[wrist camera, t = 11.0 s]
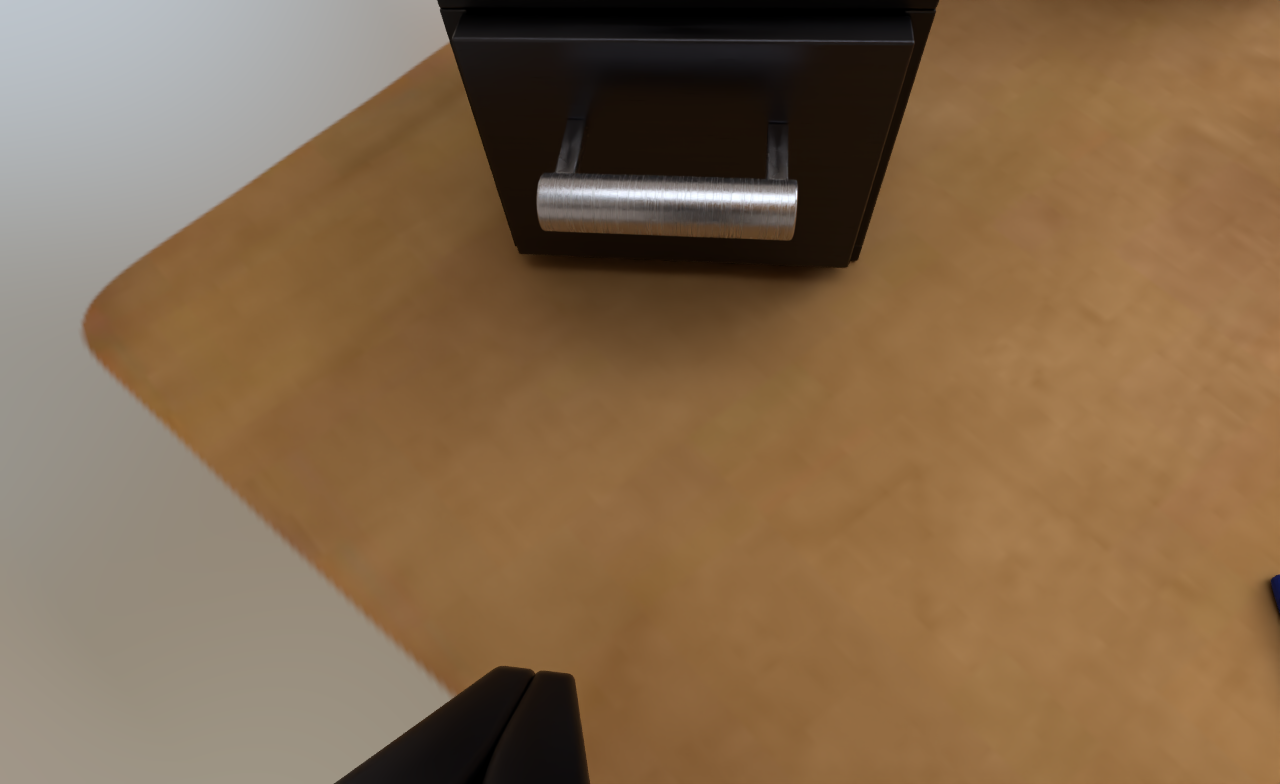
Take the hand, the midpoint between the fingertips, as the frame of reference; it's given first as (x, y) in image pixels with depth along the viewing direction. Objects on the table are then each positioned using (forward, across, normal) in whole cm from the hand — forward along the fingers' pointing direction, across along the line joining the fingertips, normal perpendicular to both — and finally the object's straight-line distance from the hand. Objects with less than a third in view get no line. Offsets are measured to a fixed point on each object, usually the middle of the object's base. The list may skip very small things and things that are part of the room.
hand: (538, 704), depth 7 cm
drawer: (+24, 0, -7) cm, 25 cm away
